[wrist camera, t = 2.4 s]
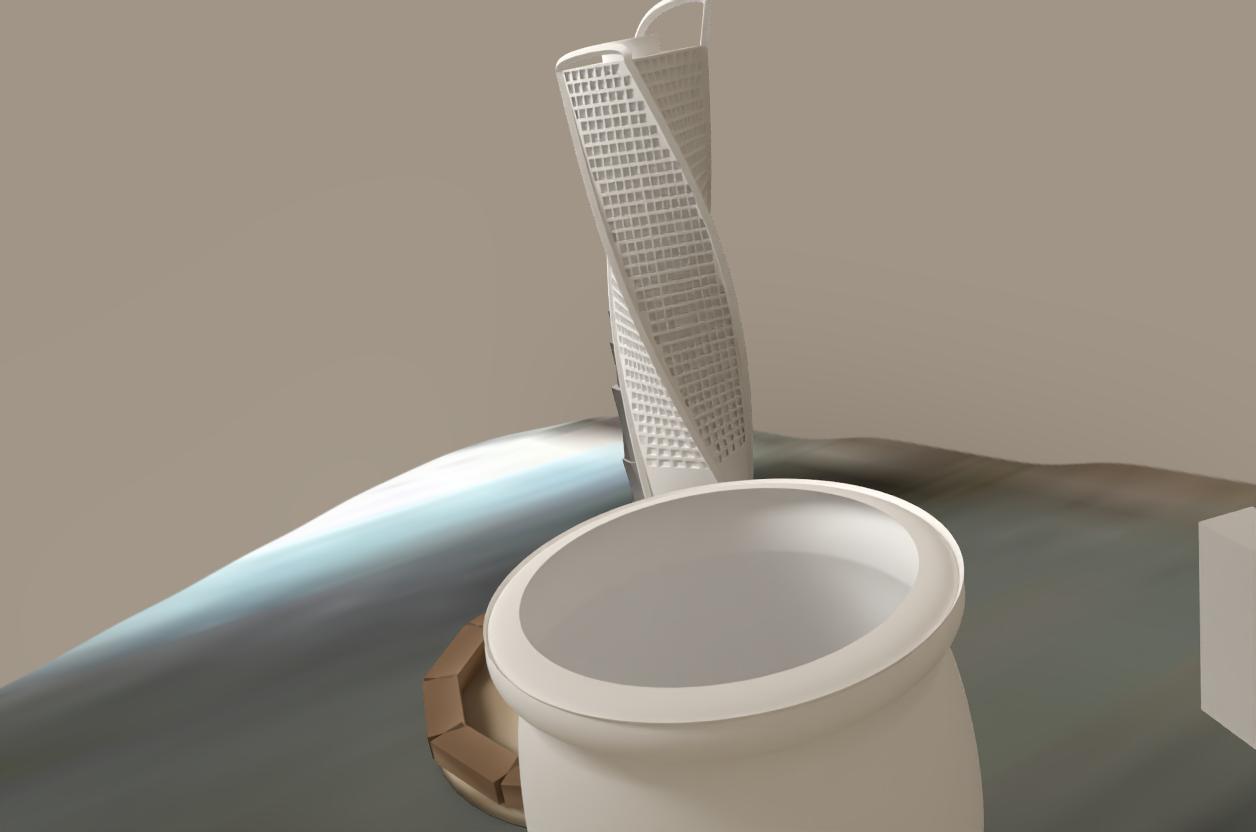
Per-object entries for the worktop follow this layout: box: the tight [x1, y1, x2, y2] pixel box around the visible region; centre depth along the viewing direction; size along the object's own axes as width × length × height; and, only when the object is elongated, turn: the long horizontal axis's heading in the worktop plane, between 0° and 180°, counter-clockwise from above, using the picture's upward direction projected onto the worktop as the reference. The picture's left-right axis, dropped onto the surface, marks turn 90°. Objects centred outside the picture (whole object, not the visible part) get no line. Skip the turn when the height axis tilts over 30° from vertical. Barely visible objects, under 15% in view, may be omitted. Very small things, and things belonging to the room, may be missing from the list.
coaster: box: [422, 612, 527, 827], centre depth 46 cm, size 17×17×2 cm
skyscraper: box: [555, 0, 753, 503], centre depth 56 cm, size 8×8×28 cm
